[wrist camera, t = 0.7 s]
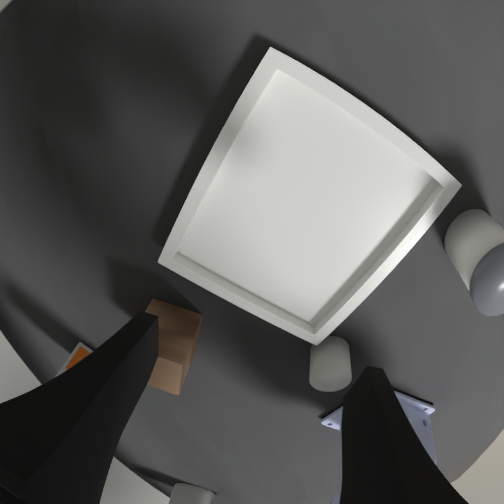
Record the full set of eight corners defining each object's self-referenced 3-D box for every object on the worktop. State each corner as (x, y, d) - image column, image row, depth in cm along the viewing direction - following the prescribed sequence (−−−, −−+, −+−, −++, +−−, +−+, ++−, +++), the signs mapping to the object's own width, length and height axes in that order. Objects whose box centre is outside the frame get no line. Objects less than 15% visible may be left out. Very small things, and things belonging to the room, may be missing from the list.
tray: (452, 177, 15) (462, 185, 14) (316, 331, 22) (316, 345, 21) (272, 49, 14) (270, 46, 12) (165, 250, 21) (157, 262, 19)
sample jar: (504, 230, 16) (544, 274, 12) (466, 275, 18) (496, 325, 14) (471, 194, 15) (514, 234, 11) (430, 245, 18) (461, 296, 13)
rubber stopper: (357, 345, 23) (360, 376, 20) (332, 366, 24) (333, 395, 22) (326, 329, 22) (327, 361, 20) (302, 352, 24) (300, 382, 21)
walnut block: (203, 314, 23) (183, 365, 19) (196, 347, 25) (178, 395, 21) (153, 297, 23) (125, 344, 19) (151, 332, 25) (127, 377, 21)
